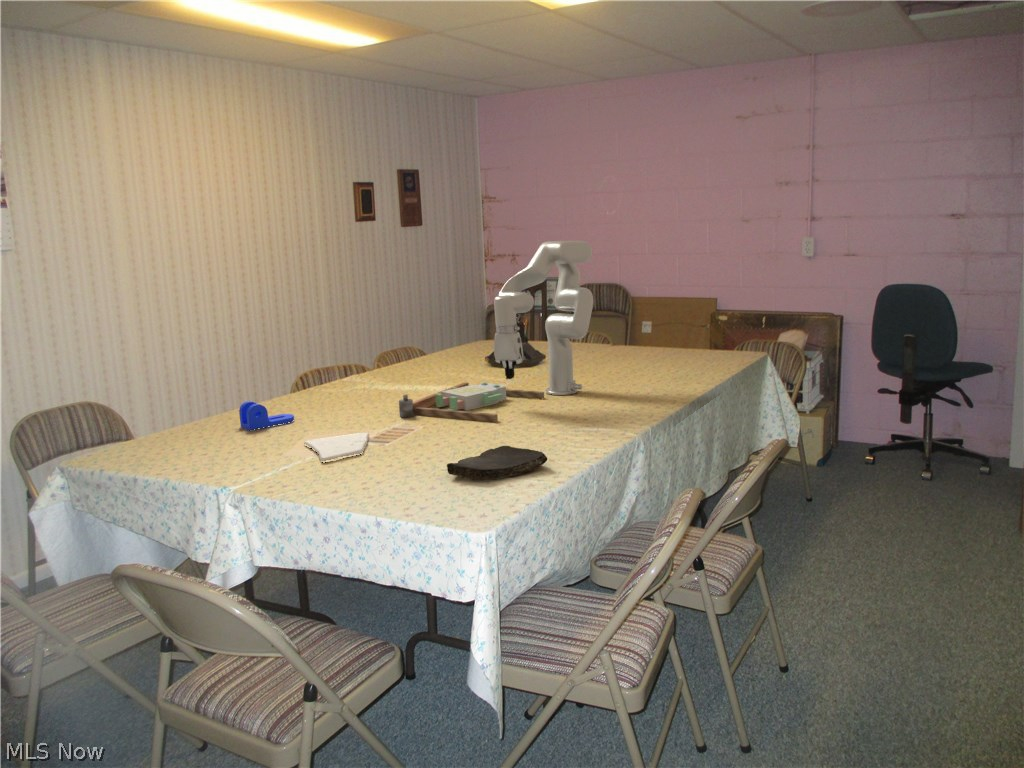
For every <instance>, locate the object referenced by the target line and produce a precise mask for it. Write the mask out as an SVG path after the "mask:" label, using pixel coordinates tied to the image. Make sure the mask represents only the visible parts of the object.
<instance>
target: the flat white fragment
mask: <svg viewBox="0 0 1024 768" xmlns="http://www.w3.org/2000/svg"><path fill="white" fill-rule="evenodd" d="M368 437H369V438H370V434H369V432H356V433H349V434H342V435H336V436H335V435H334V436H327V437H321V438H312V439H307V440H305V441H304V444H306V445H308V446H309V447H311V448H313V449H314V450H315V451H316V452H317V453H318V454H319V455H318V454H317V453H316V454H317V455H318V458H319V457H320V458H319V459H320V462H321V461H326V460H331V459H335V458H338V457H343V456H349V455H354V454H360V453H362V452H363V451H364V452H365V449H366V448H365V446H366V444H367V442H368V441H369V439H368ZM367 445H368V444H367ZM366 447H367V446H366ZM364 448H365V449H364Z"/></svg>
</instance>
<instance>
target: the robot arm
mask: <svg viewBox="0 0 1024 768" xmlns="http://www.w3.org/2000/svg"><path fill="white" fill-rule="evenodd" d="M592 255H593V248H592V246H591V244H590V243H589V242H588V241H586V240H556V241H555V240H553V241H552V240H551V241H550V240H548V241H544V242H542V243H541V244H540V245H539V247H538V248H537V250H536V252H535V253H534V255H533V256H532V258H531V260H530V261H529V262H528V264H527V265H526V266H525V268H524V269H522V270H520V271H518V272H517V273H515V274H514V275H513V276H512V277H510V278H509V279H508V280H507V281H506V282H505V283H504V285H503V286H502V288H501V290H500V291H499V292H498V294H497V296H495V297H494V299H493V308H494V319H495V320H494V322H495V334H494V339H493V355H494V359H495V360H494V361H495V362H496V363H498V364H501V366H502V367H503V368H504V375H505V377H506V378H505V379H506V380H512V379H514V377H515V367H516V366H517V365H518V364H521V363H523V357H524V350H523V342H522V338H521V334H520V332H519V331H520V329H521V327H520V326H518V324H517V315H516V314H522V313H523V314H524V313H525V314H526V313H528V312H529V311H531V310H533V307H534V304H535V300H534V297H533V296H532V295H531V294H530V293H529V292H524V290H526V289H528V288H531V287H534V286H537V285H539V284H540V285H541V284H542V283H543V282H545V281H546V279H547V278H548V276H549V274H550V272H551V271H552V269H553V268H554V266H555V265H556V267H557V269H558V279H557V280H558V281H557V284H556V290H555V295H554V307H555V308H556V309H557V310H558V311H564V312H573V313H560V312H559V313H558V312H557V313H552V314H549V316H548V317H546V320H545V322H544V323H545V324H544V325H545V326H544V328H545V333H546V337H547V344H548V345H547V346H548V376H549V377H548V378H549V379H548V381H549V382H548V383H549V387H547V388H546V389H545V393H546V394H548V395H551V394H552V396H567V395H573V394H576V393H577V392H578V390H581V391H582V389H583V384H582V383H577V382H576V380H575V379H574V364H573V363H574V362H573V361H574V359H573V346H572V343H571V341H570V339H572V340H581V339H583V338H584V337H586V335H587V333H588V330H589V326H590V323H591V316H592V311H593V307H594V297H593V293H592V291H591V290H590V289H589V288H586V287H581V286H580V281H581V273H580V270H579V268H578V267H577V265H576V264H585V263H588V262H589V261H590V259H591V258H592Z"/></svg>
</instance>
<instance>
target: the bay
mask: <svg viewBox="0 0 1024 768" xmlns="http://www.w3.org/2000/svg"><path fill="white" fill-rule="evenodd" d="M469 383H470V382H461V383H459V384H457V385H455V386H452V387H457V388H461V387H465V386H470V385H469ZM452 387H449V388H446V389H444V390H441V391H439V392H436V393H433V394H431V395H428V396H427V395H426V397H422V398H420V399H417V400H413V399H412V398H409V396H408V394H406V393H405V394H403V395H402V397H403V398H402V399H399V400H398V408H399V409H398V410H399V411H398V412H399V418H400V417H401V418H400V419H409V418H413V417H414V415H415V416H423V417H424V416H425V417H434V418H444V419H445V418H446V419H454V420H463V421H464V420H466V421H474V420H475V421H477V422H485V421H486V422H487V423H497V422H499V421H498V419H499V418H498V414H497V413H488V412H478V411H477V412H476V411H469V410H467V411H466V410H451V409H443V408H434V407H437V406H436V400H435V394H437V393H439V394H442V391H447V390H451V389H452ZM506 396H509V397H508V398H510V397H511V398H519V397H525V398H524V399H532V398H539V399H538V400H543V399H542V398H544V399H545V392H544V391H533V390H524V389H522V390H521V389H510V388H509V389H508V388H506ZM486 422H485V423H486Z"/></svg>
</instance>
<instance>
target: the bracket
mask: <svg viewBox="0 0 1024 768" xmlns="http://www.w3.org/2000/svg"><path fill="white" fill-rule="evenodd" d="M238 413H239V421H240V428H241V427H243V428H242V429H244V428H246V429H248V430H254V429H258V428H263V427H268V426H273V425H278V424H283V423H288V422H292V421H293V420H294V421H295V417H294V414H291V413H284V414H283V413H281V414H275V415H270V416H269V414H268V413H269V411H268V409H267V408H266V407H265V406H264V405H262V404H260V403H257V402H254V401H251V400H248V401H245V402H243V403H242V404H241V405H240V407H239V412H238ZM292 423H293V422H292ZM246 429H245V430H246ZM248 430H247V431H248ZM254 431H255V430H254Z"/></svg>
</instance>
